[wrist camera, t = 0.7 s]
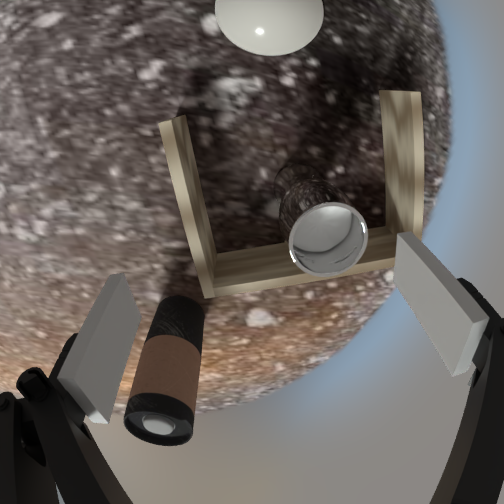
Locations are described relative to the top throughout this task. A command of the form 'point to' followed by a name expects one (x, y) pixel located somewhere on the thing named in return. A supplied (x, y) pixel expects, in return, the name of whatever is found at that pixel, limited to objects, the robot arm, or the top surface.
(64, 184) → the top surface
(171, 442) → the travel mug
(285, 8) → the coaster
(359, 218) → the beer glass
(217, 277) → the open side box
